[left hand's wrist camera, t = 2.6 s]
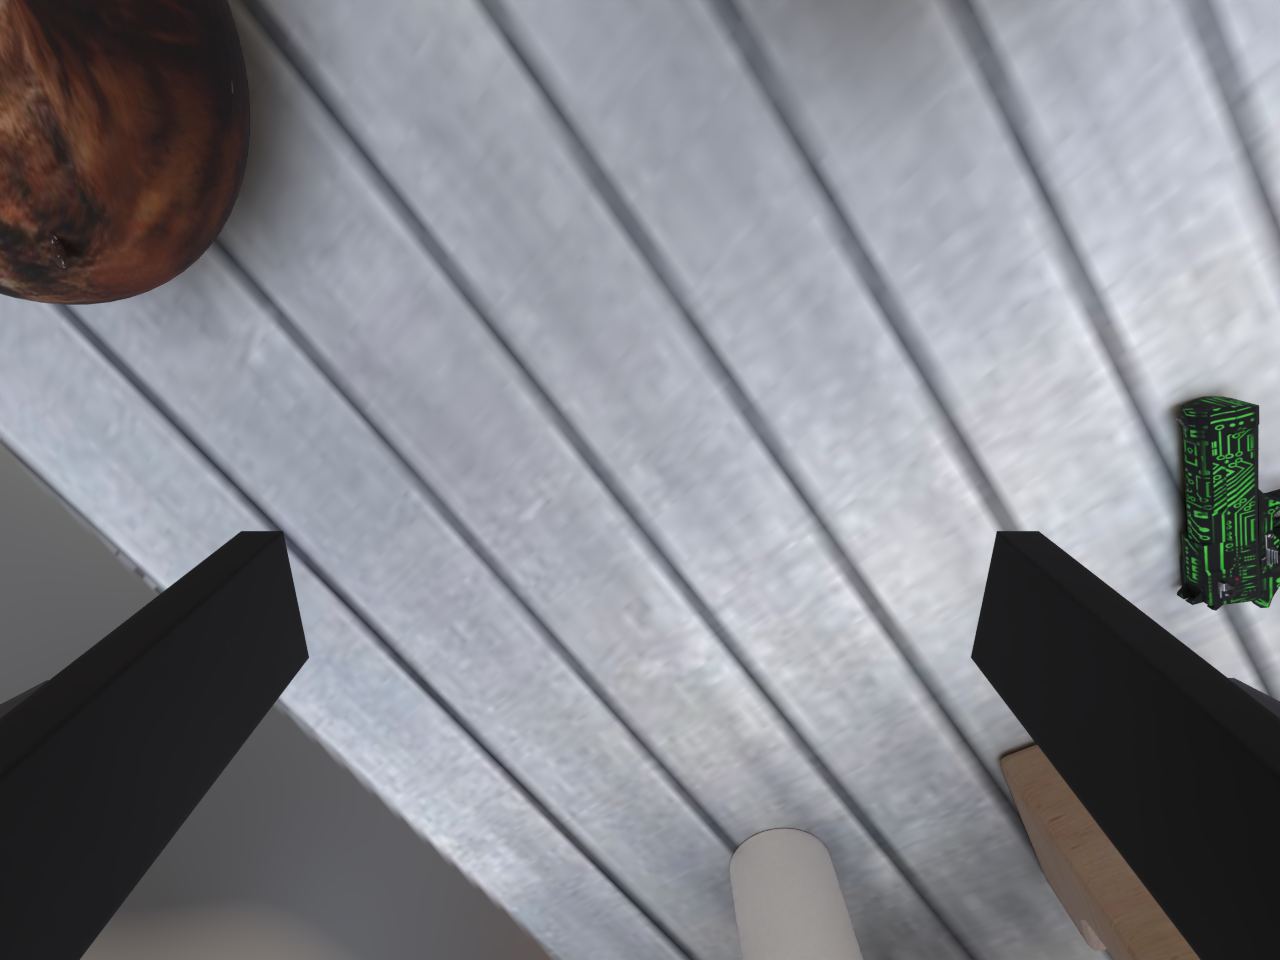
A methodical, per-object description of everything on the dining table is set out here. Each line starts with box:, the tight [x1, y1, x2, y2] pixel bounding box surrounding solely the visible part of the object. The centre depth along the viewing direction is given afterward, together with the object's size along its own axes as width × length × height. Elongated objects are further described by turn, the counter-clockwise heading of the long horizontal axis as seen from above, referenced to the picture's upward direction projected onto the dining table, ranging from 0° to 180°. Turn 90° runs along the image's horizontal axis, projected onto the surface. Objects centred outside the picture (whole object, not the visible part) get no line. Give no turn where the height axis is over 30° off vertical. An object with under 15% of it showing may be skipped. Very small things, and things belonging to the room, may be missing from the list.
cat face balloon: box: [0, 0, 250, 305], centre depth 31 cm, size 22×18×20 cm
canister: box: [729, 828, 863, 960], centre depth 53 cm, size 9×9×12 cm
